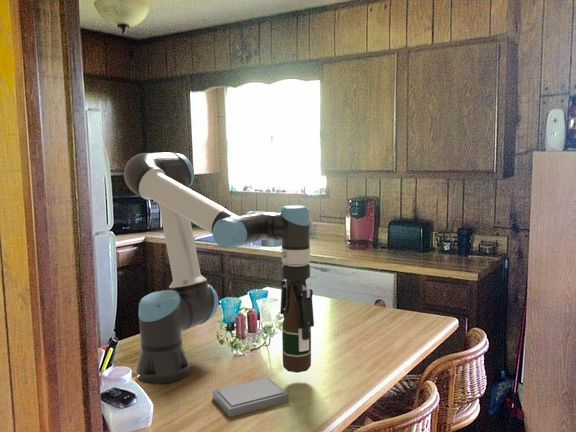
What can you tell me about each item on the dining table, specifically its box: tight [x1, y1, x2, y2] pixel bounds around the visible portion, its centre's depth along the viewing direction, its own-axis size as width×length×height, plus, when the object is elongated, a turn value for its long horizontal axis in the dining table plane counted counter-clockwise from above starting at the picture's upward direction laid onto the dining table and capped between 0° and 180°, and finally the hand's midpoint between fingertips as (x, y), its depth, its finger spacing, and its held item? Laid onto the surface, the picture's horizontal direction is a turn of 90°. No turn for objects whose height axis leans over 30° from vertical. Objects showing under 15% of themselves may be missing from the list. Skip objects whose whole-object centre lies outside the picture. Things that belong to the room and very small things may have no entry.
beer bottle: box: [281, 282, 312, 373], centre depth 146 cm, size 8×8×24 cm
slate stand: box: [212, 377, 290, 418], centre depth 137 cm, size 12×16×2 cm
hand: (296, 345), depth 146 cm, fingers closed on beer bottle, 7 cm apart
